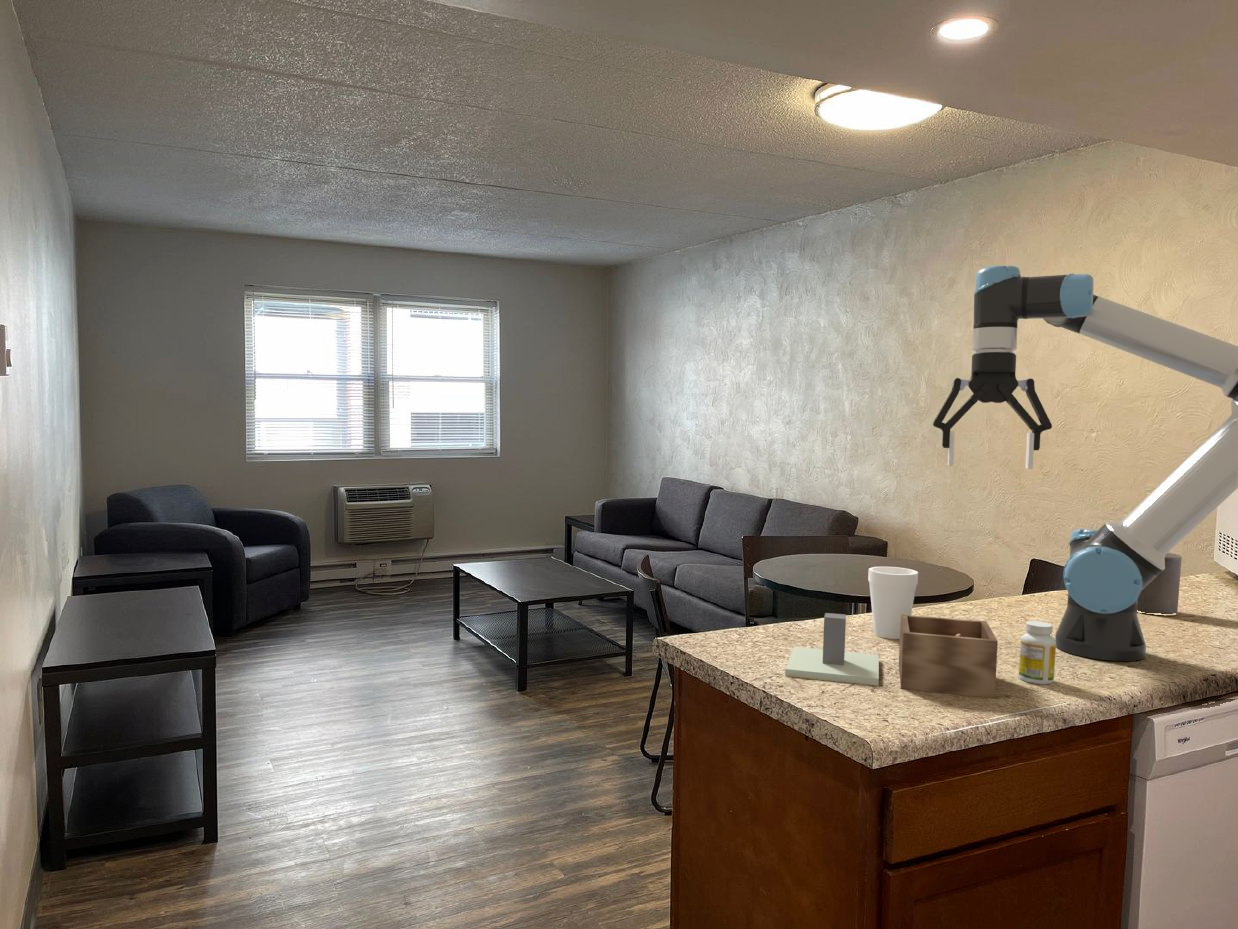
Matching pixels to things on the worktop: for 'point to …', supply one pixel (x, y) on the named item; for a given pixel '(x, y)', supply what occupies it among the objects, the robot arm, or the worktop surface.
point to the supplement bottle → (1037, 653)
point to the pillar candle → (1163, 589)
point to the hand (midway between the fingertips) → (989, 467)
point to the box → (947, 656)
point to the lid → (833, 658)
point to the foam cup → (891, 598)
